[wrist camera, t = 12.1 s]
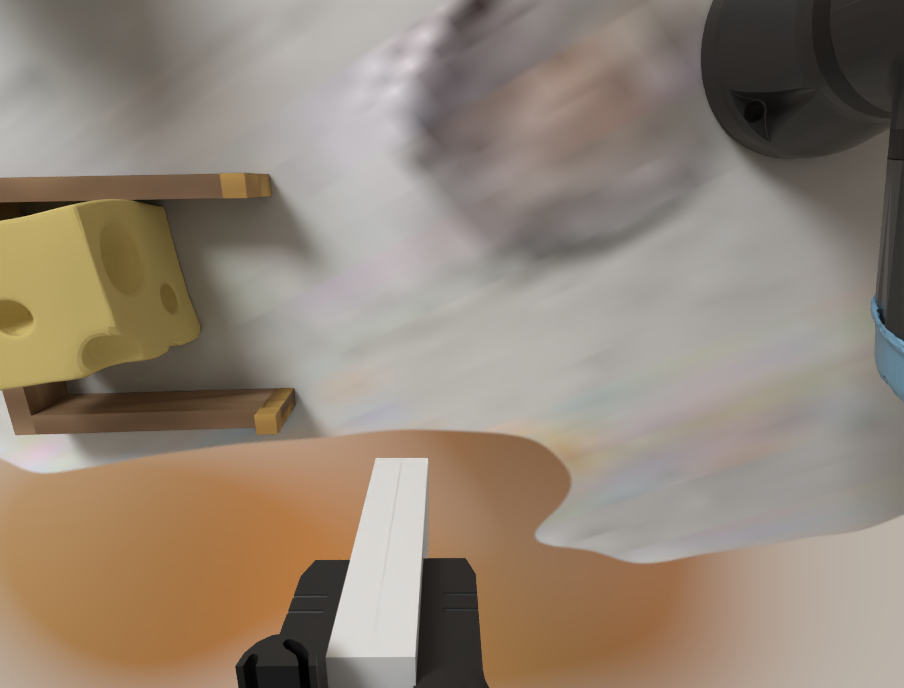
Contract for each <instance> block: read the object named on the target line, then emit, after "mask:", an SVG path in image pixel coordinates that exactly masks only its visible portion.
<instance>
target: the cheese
mask: <svg viewBox="0 0 904 688" xmlns="http://www.w3.org/2000/svg"><path fill="white" fill-rule="evenodd" d="M200 332H201V329H200V324H199V321H198V318H197V315H196V313H195V311H194V308H193V306H192V303H191V300H190V298H189V295H188V292H187V288H186V285H185V282H184V278H183V274H182V271H181V268H180V265H179V261H178V257H177V254H176V250H175V247H174V243H173V240H172V236H171V232H170V228H169V224H168V221H167V217H166V214H165V210H164V208H163V207H162V206H155V205H150V204H146V203H141V202H136V201H131V200H122V199H104V200H95V201H88V202H82V203H77V204H73V205H68V206H64V207H60V208H56V209H52V210H48V211H45V212H41V213H37V214H32V215H28V216H24V217H19V218H14V219H8V220H2V221H0V390H6V389H12V388H19V387H25V386H32V385H38V384H44V383H50V382H59V381H67V380H75V379H79V378H84V377H87V376H89V375H91V374H93V373H95V372H97V371H99V370H101V369H104V368H106V367H109V366H113V365H116V364H121V363H126V362H135V361H144V360H150V359H154V358H157V357H159V356H161V355H163V354H164V353H166V352H167V351H168V350H169V347H170V346H175V345H183V344H186V343H189V342H191V341H193V340H195V339H196V338H197V337H198V336H199V334H200Z"/></svg>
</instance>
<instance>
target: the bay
mask: <svg viewBox="0 0 904 688" xmlns="http://www.w3.org/2000/svg"><path fill="white" fill-rule="evenodd" d="M266 196H271V187H270V178H269V174H253V173H220V174H186V175H130V176H74V177H19V178H0V221H2V220H8V219H14V218H19V217H22V213H21V209H20V205H19V202H44V201H95V200H104V199H122V200H148V199H200V198H253V197H266ZM2 391H3V395H4V398H5V401H6V405H7V408H8V412H9V415H10V418H11V422H12V425H13V429H14V432H15V435H35V434H67V433H99V432H130V431H162V430H194V429H226V428H256V433H257V435H265V434H278V433H279V431H280V430H281V428H282V426H283V425H284V423H285V421H286V420H287V418H288V417H289V415H290V413H291V412H292V410H293V409H294V407H295V405H296V403H295V395H294V388H276V389H242V390H208V391H174V392H140V393H106V394H72V395H68V394H67V390H66V386H65V382H64V381H59V382H50V383H44V384H38V385H32V386H25V387H19V388H12V389H6V390H2Z"/></svg>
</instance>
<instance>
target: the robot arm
mask: <svg viewBox="0 0 904 688" xmlns="http://www.w3.org/2000/svg"><path fill="white" fill-rule="evenodd" d="M701 69H702V78H703V83H704V88H705V92H706V95H707V98H708V101H709V104H710V106H711V108H712V110H713V112H714V114H715V116H716V118H717V119H718V121H719V122H720V124H721V125H722V126H723V127H724V129H725V130H726V131H727V132H728V133H729V134H730V135H731V136H732V137H733V138H734V139H735V140H737V141H738V142H739V143H741V144H742V145H744V146H745V147H747V148H749V149H751V150H753V151H755V152H757V153H760V154H763V155H767V156H771V157H776V158H805V157H817V156H824V155H829V154H833V153H836V152H840V151H843V150H846V149H849V148H851V147H854V146H856V145H858V144H860V143H862V142H864V141H866V140H868V139H870V138H872V137H874V136H876V135H877V134H879V133H881V132H883V131H885V130H887V129H889V128H890V136H889V150H888V158H887V171H886V183H885V195H884V206H883V217H882V228H881V239H880V251H879V262H878V273H877V284H876V293H875V296H874V297H873V299H872V302H871V313H872V317H873V320H874V322H875V361H876V365H877V369H878V372H879V374H880V376H881V378H882V379H883V380H884V381H885V382H886V383H887V384H888V385H889V386H890V387H891V389H892V390H893V392H894V394H895V395H896V396H898V397H899V398H900V399H901V400H902V401H903V402H904V0H713V2H712V5H711V8H710V10H709V13H708V16H707V20H706V24H705V28H704V33H703V39H702V49H701ZM428 500H429V499H428V458H376V460H375V464H374V468H373V472H372V476H371V480H370V484H369V488H368V492H367V496H366V500H365V504H364V508H363V512H362V516H361V519H360V523H359V528H358V531H357V535H356V539H355V543H354V547H353V551H352V555H351V559H350V560H315V561H314V562H313V564H312V565H311V566H310V567H309V568H308V569H307V570H306V571H305V572H304V573H303V575H301V577H300V580H299V583H298V585H297V588H296V591H295V594H294V598H293V599H292V602H291V605H290V608H289V610H288V611H289V612H288V614H287V615H286V618H285V621H284V624H283V626H282V629H281V632H280V634H278V635H272V636H270V637H267V638H265V639H263V640H261V641H259V642H257V643H256V644H254V645H253V646H252V647H251V648H250V649H248V650H247V651H246V652H245V653H244V654H243V656H242V657H241V659H240V660H239V662H238V663H237V665H236V666H235V667H236V674H237V680H238V687H239V688H489V687H488V685H487V683H486V681H485V678H484V673H483V666H482V654H481V640H480V626H479V614H478V601H477V586H476V574H475V572H474V571H473V569H472V568H471V566H470V564H469V563H468V561H467V560H466V558H428V546H429V501H428Z"/></svg>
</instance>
